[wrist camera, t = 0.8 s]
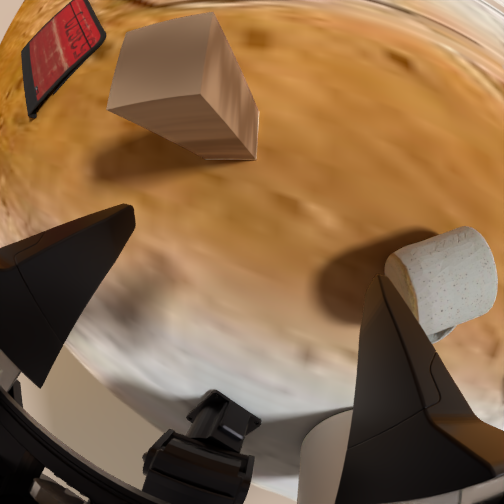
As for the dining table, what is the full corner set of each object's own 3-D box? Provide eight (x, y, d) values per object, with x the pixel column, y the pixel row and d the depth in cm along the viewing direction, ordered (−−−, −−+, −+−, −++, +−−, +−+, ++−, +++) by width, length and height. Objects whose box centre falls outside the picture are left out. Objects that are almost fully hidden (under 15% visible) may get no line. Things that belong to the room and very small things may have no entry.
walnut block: (256, 160, 22) (200, 94, 9) (205, 159, 23) (106, 109, 9) (259, 111, 22) (213, 11, 8) (210, 113, 22) (126, 32, 9)
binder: (26, 117, 24) (19, 51, 24) (37, 120, 27) (27, 55, 26) (105, 33, 22) (81, -11, 21) (114, 41, 24) (88, -5, 23)
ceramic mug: (372, 247, 22) (405, 265, 14) (447, 222, 20) (497, 229, 13) (391, 350, 23) (417, 396, 15) (458, 322, 21) (497, 355, 14)
